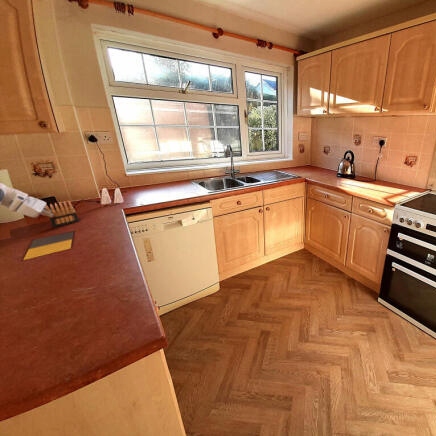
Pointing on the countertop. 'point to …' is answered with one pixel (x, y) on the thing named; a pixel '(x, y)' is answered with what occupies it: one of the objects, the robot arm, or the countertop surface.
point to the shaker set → (106, 197)
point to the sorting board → (49, 245)
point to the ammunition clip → (63, 219)
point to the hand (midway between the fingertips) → (53, 214)
